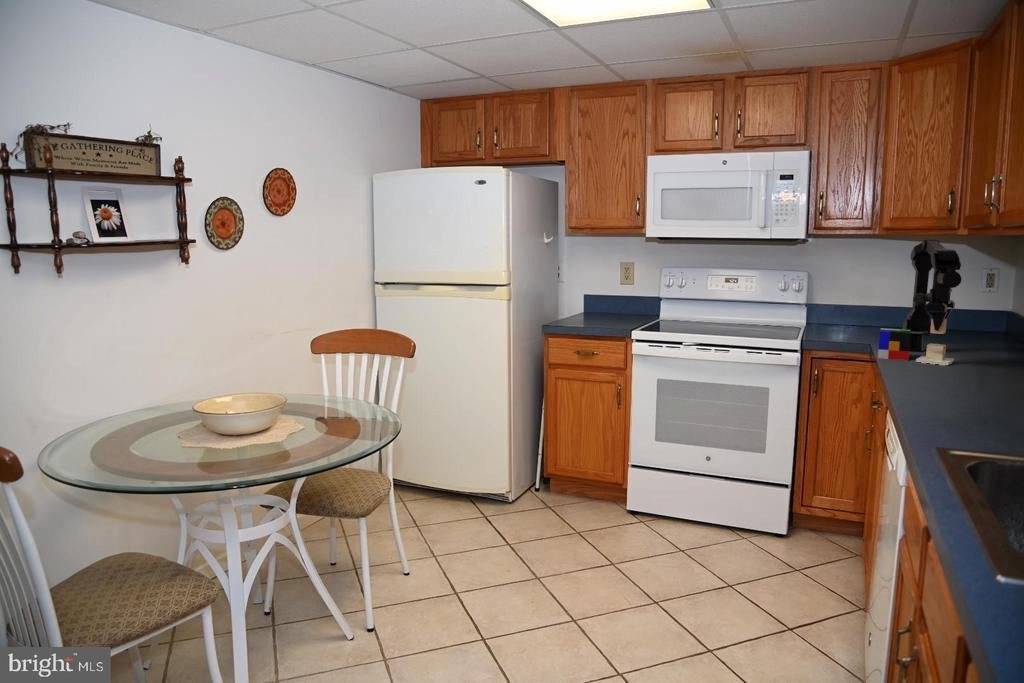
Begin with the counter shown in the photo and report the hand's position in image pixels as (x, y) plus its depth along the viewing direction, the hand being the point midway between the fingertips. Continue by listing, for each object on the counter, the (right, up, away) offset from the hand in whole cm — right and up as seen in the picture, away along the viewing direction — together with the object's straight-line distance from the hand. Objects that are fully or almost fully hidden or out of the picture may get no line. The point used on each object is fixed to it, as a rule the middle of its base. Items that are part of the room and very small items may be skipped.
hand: (937, 329), depth 257 cm
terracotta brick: (0, -1, 0) cm, 1 cm away
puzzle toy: (-9, -10, +12) cm, 19 cm away
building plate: (0, -12, +2) cm, 12 cm away
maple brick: (0, -10, +1) cm, 10 cm away
